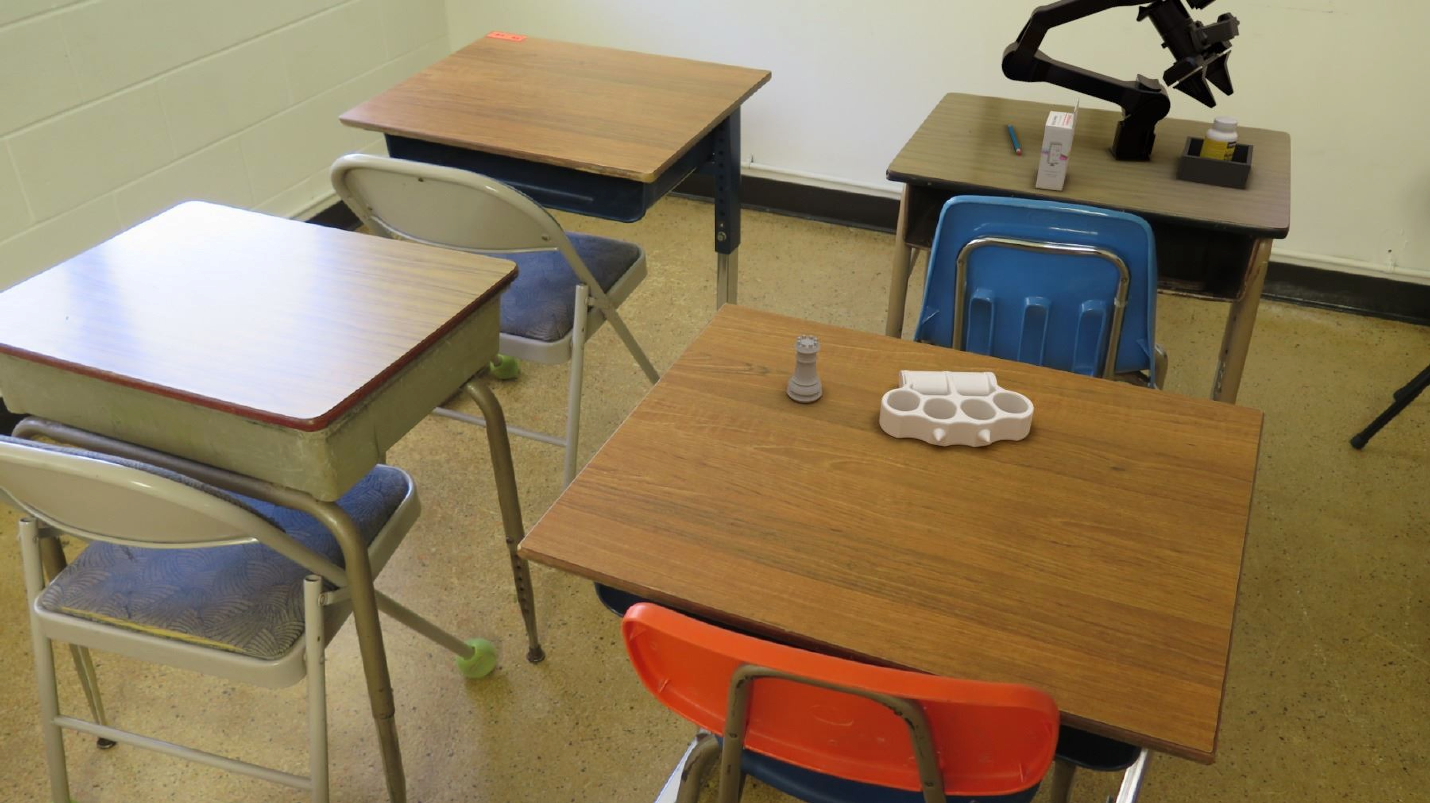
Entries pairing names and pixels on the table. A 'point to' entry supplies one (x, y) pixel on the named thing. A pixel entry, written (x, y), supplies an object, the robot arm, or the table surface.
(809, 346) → the rook chess piece
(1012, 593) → the table surface
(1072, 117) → the ink cartridge box
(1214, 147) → the supplement bottle
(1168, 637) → the table surface
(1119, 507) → the table surface
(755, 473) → the table surface
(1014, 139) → the pencil
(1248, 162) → the bin
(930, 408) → the knuckle duster
